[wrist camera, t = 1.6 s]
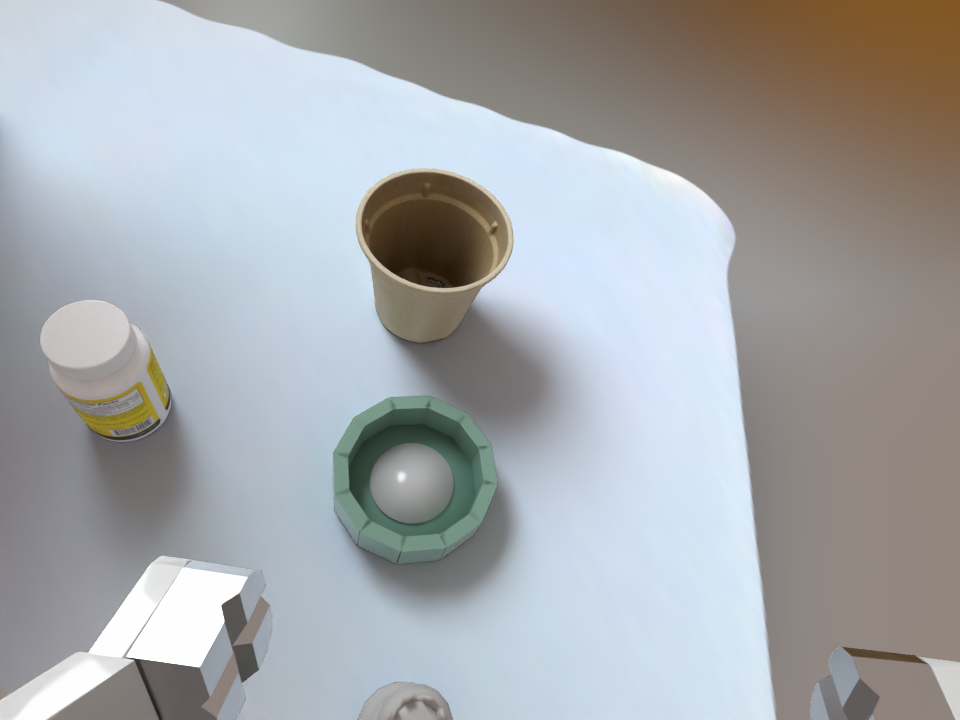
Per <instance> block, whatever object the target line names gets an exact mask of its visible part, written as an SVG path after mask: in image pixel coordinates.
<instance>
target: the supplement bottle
mask: <svg viewBox="0 0 960 720" xmlns="http://www.w3.org/2000/svg"><path fill="white" fill-rule="evenodd" d="M40 346H41V349H42V351H43V353H44V355H45V356H46V358H47V360H48V367H49V372H50V375H51V377H52V379H53V381H54V383H55V384H56V386H57V387H58V388H59V390H60V391H61V392H62V393H63V395H64V396H65V397H66V399H67V400H68V401H69V403H70V404H71V405H72V406H73V408H74V409H75V410H76V412H77V413H78V414H79V416H80V417H81V418H82V419H83V421H84V422H85V423H86V424H87V426H88V427H89V428H90V429H91V430H92V431H93V432H94V433H95V434H96V435H98V436H100V437H102V438H104V439H107V440H110V441H116V442H129V441H134V440H138V439H141V438H143V437H146V436H147V435H149V434H151V433H153V432H154V431H155V430H157V429H158V428H159V427H160V426H161V425H162V423H163V422H164V421H165V419H166V418H167V416H168V413H169V411H170V408H171V402H172V397H171V392H170V389H169V386H168V384H167V382H166V380H165V378H164V375H163V373H162V371H161V369H160V367H159V364H158V362H157V360H156V358H155V356H154V354H153V351H152V349H151V347H150V345H149V342H148V340H147V339H146V337H145V336H144V334H143V333H142V332H141V331H140V330H139V329H138V328H137V327H136V326H134V325H133V324H131V323H130V321H129V319H128V318H127V316H126V315H125V313H124V312H123V311H122V310H120V309H119V308H118V307H116V306H114V305H113V304H110V303H108V302H105V301H100V300H82V301H77V302H74V303H70V304H68V305H66V306H64V307H62V308H60V309H58V310H57V311H56V312H54V313H53V314H52V315H51V316H50V317H49V318H48V319H47V321H46V322H45V324H44V325H43V327H42V330H41V333H40Z"/></svg>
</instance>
